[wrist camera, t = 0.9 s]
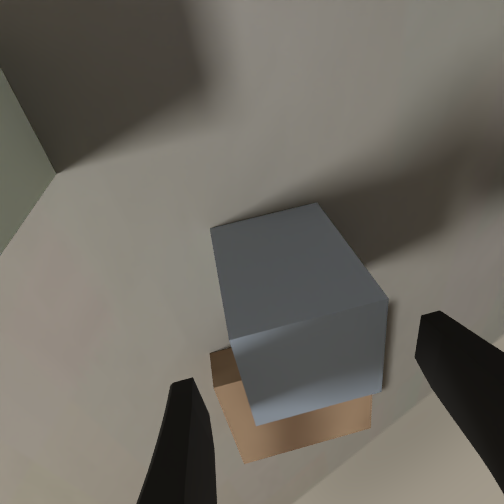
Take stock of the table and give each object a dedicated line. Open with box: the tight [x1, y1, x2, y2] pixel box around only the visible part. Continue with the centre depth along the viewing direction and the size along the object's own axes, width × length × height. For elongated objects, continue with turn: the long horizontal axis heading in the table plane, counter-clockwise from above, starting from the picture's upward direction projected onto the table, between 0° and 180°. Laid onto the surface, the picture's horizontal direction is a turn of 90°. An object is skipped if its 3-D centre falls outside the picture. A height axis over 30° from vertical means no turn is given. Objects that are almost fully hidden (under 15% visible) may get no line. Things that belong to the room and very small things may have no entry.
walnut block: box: [210, 347, 372, 464], centre depth 20 cm, size 8×8×2 cm
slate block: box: [210, 202, 389, 426], centre depth 13 cm, size 4×4×6 cm
